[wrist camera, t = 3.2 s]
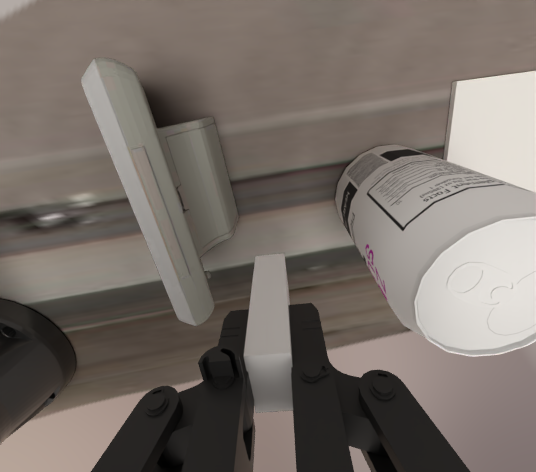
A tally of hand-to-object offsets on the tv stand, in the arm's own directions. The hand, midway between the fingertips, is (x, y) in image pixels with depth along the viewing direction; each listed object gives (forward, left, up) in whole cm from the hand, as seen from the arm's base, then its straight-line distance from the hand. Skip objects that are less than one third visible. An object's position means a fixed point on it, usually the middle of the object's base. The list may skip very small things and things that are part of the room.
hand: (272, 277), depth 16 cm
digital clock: (-8, +3, -12) cm, 15 cm away
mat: (+19, 0, -12) cm, 23 cm away
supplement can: (+9, 0, -12) cm, 15 cm away
